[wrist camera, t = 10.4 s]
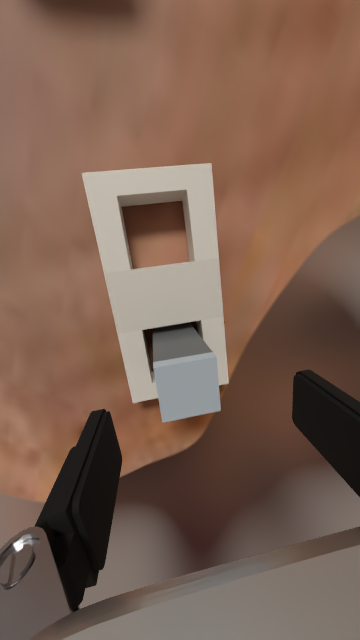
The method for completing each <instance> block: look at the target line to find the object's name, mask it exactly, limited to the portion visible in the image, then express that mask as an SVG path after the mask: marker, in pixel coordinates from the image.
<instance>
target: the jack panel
mask: <svg viewBox="0 0 360 640" xmlns="http://www.w3.org/2000/svg"><path fill="white" fill-rule="evenodd" d="M82 177H83V181H84V186H85V190H86V195H87V199H88V204H89V208H90V213H91V217H92V222H93V226H94V231H95V235H96V240H97V244H98V248H99V253H100V257H101V262H102V266H103V271H104V275H105V280H106V284H107V289H108V293H109V298H110V302H111V307H112V311H113V316H114V320H115V325H116V329H117V334H118V338H119V343H120V347H121V352H122V356H123V361H124V365H125V370H126V374H127V379H128V383H129V388H130V392H131V397H132V401H133V403H136V402H141V401H146V400H151V399H156V398H158V393H157V387H156V381H155V375H154V371H152V369H151V363H150V358H149V353H148V347H147V342H146V336H145V331H144V330H145V329H151V328H157V327H163V326H169V325H175V324H181V323H187V322H193V321H196V324H197V333H198V334H199V335H200V337H201V338H202V339H203V340H204V342H205V343H206V344H207V345H208V347H209V348H210V349H211V350H212V352H213V353H214V354H215V355H216V357H217V368H218V381H219V385H223V384H228V383H229V381H228V368H227V356H226V343H225V330H224V318H223V305H222V292H221V280H220V267H219V254H218V242H217V229H216V217H215V204H214V191H213V179H212V166H211V163H206V164H193V165H180V166H167V167H154V168H141V169H128V170H115V171H102V172H89V173H82ZM175 201H182V203H183V212H184V221H185V229H186V238H187V247H188V255H189V262H185V263H177V264H169V265H162V266H154V267H147V268H139V269H133V267H132V261H131V256H130V250H129V245H128V240H127V234H126V229H125V224H124V218H123V213H122V207H124V206H134V205H144V204H155V203H165V202H175Z"/></svg>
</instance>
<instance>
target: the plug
mask: <svg viewBox="0 0 360 640" xmlns="http://www.w3.org/2000/svg"><path fill="white" fill-rule="evenodd" d="M153 369H154V375H155V381H156V387H157V393H158V399H159V405H160V411H161V417H162V423H164V422H169V421H173V420H178V419H183V418H188V417H193V416H198V415H202V414H207V413H212V412H217V411H220V410H221V407H220V394H219V381H218V368H217V357H216V355H215V354H214V353H213V352H212V350H211V349H210V348H209V347H208V345H207V344H206V343H205V342H204V340H203V339H202V338H201V337H200V335H199V334H198V333H197V331H196V330H195V329H194V328H193V326H192V325H191V324H190V323H185V324H178V325H172V326H165V327H158V328H153Z"/></svg>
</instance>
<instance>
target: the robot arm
mask: <svg viewBox="0 0 360 640" xmlns="http://www.w3.org/2000/svg"><path fill="white" fill-rule="evenodd" d="M292 419H293V422H294V424H295V425H296V427H297V428H298V429H299V430H300V431H301V432H302V433H303V435H304V436H305V437H306V438H307V439H308V440H309V441H310V442H311V443H312V445H313V446H314V447H315V448H316V449H317V450H318V451H319V452H320V453H321V455H322V456H323V457H324V458H325V459H326V460H327V461H328V462H329V463H330V464H331V466H332V467H333V468H334V469H335V470H336V471H337V472H338V474H339V475H340V476H341V477H342V478H343V479H344V480H345V481H346V482H347V484H348V485H349V486H350V487H351V488H352V489H353V490H354V491H355V492H356V494H357V495H358V496H359V497H360V402H359V401H357V400H356V399H354V398H353V397H351V396H350V395H348V394H346V393H345V392H343V391H342V390H340V389H338V388H337V387H336V386H334V385H333V384H331V383H330V382H328V381H326V380H325V379H323V378H322V377H320V376H319V375H317V374H316V373H314V372H313V371H311V370H304V371H299V372H297V373H296V375H295V376H294V382H293V412H292ZM121 465H122V455H121V451H120V447H119V443H118V440H117V436H116V432H115V429H114V425H113V421H112V418H111V414H110V412H109V411H108V412H106V410H105V409H102V410H96V411H92V412H91V413H90V416H89V418H88V420H87V422H86V425H85V427H84V429H83V431H82V434H81V436H80V438H79V440H78V443H77V445H76V447H73V448H72V449H71V450H70V452H69V454H68V456H67V458H66V460H65V462H64V464H63V466H62V469H61V471H60V473H59V475H58V477H57V479H56V481H55V484H54V486H53V488H52V490H51V492H50V494H49V496H48V499H47V501H46V503H45V505H44V507H43V510H42V512H41V514H40V516H39V518H38V520H37V522H36V524H35V527H30V528H27V529H25V530H23V531H21V532H19V533H18V534H17V535H15V536H14V537H12V538H11V539H10V540H9V541H8V542H7V543H6V544H5V545H4V546H3V547H2V548H1V549H0V640H360V527H356V528H353V529H349V530H345V531H342V532H338V533H334V534H331V535H327V536H323V537H319V538H316V539H312V540H308V541H305V542H301V543H298V544H294V545H290V546H287V547H283V548H279V549H276V550H272V551H269V552H265V553H261V554H258V555H254V556H251V557H247V558H243V559H240V560H236V561H233V562H230V563H226V564H222V565H219V566H215V567H212V568H209V569H205V570H201V571H197V572H194V573H190V574H187V575H184V576H180V577H177V578H173V579H169V580H166V581H163V582H159V583H156V584H153V585H149V586H146V587H143V588H140V589H137V590H133V591H130V592H127V593H124V594H120V595H117V596H114V597H111V598H108V599H105V600H102V601H100V602H97V603H95V604H92V605H89V606H87V607H84V608H82V609H80V607H79V605H80V603H81V602H82V600H83V596H84V591H85V588H87V587H91V586H95V585H96V583H97V578H98V573H99V570H102V569H103V568H104V565H105V560H106V554H107V548H108V542H109V536H110V530H111V525H112V519H113V512H114V507H115V500H116V495H117V489H118V483H119V477H120V471H121Z"/></svg>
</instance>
